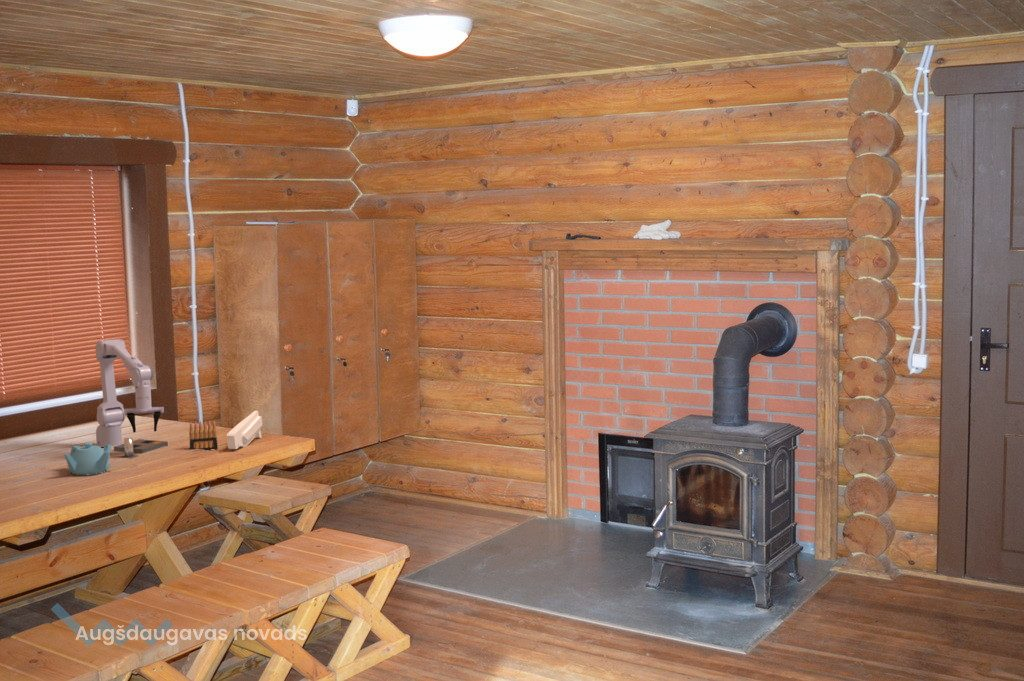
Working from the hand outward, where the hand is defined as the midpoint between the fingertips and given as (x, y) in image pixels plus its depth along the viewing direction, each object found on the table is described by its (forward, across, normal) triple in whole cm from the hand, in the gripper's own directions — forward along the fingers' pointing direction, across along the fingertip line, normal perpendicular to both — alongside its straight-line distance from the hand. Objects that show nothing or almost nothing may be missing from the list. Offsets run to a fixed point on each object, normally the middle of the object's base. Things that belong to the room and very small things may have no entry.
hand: (145, 431), depth 410 cm
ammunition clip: (+10, +21, +4) cm, 24 cm away
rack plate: (+10, -3, +11) cm, 15 cm away
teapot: (+10, -17, -22) cm, 29 cm away
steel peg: (+9, -6, -4) cm, 11 cm away
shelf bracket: (+10, +38, +11) cm, 40 cm away
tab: (+10, -6, -4) cm, 12 cm away
